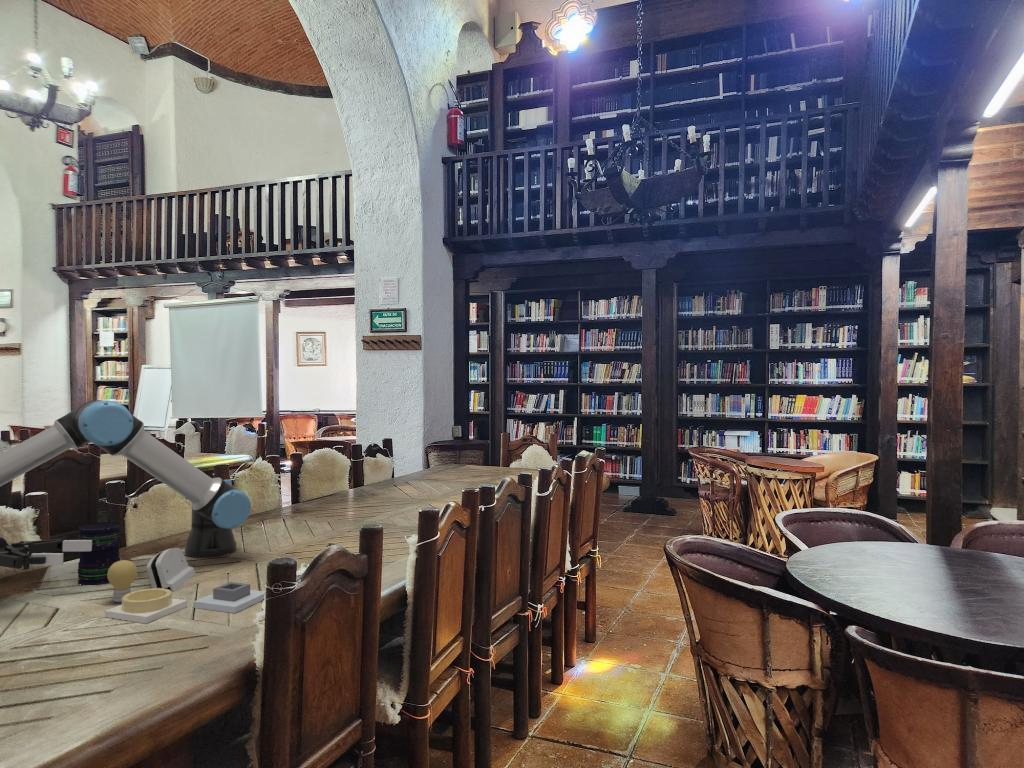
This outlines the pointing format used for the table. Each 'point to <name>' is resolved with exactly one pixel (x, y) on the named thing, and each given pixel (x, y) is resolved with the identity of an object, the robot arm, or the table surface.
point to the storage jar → (98, 552)
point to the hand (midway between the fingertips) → (77, 552)
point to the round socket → (146, 605)
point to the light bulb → (121, 578)
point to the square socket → (230, 598)
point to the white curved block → (169, 569)
